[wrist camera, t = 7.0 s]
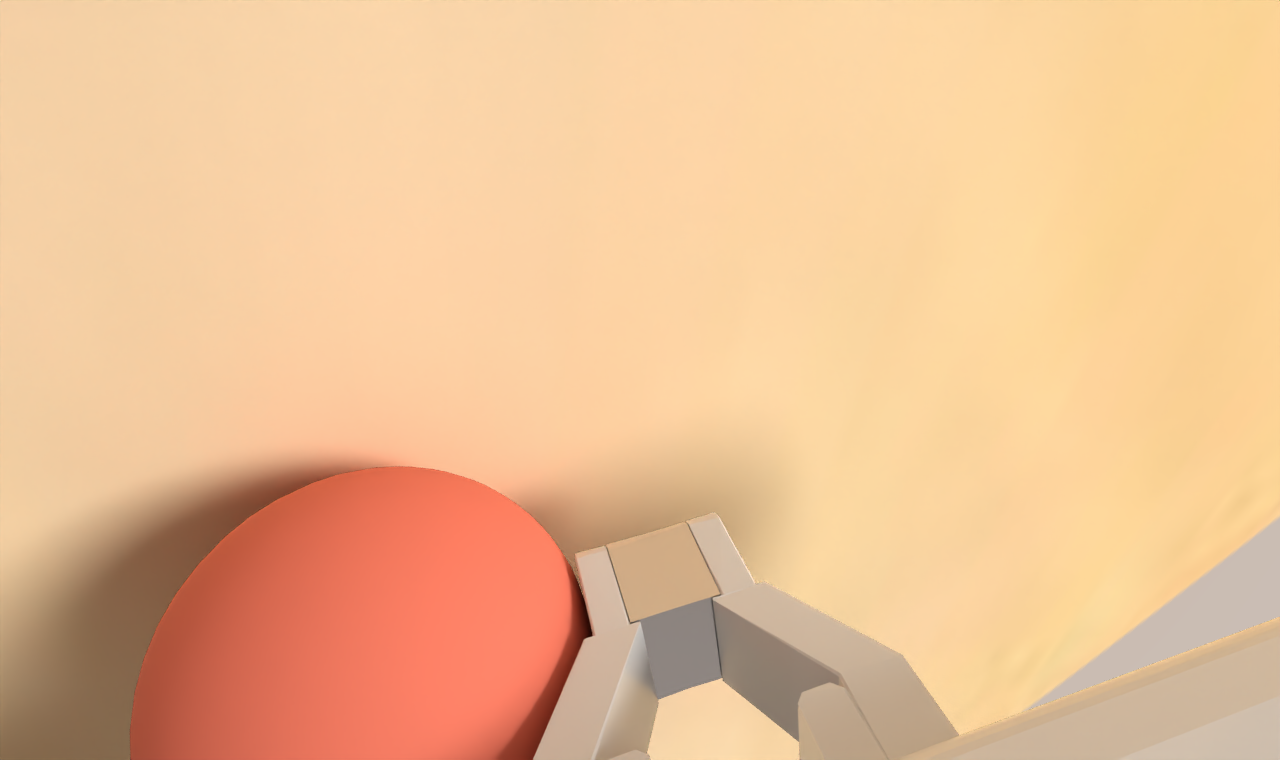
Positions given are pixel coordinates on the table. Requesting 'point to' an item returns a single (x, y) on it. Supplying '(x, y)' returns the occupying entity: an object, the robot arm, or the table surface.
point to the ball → (366, 630)
